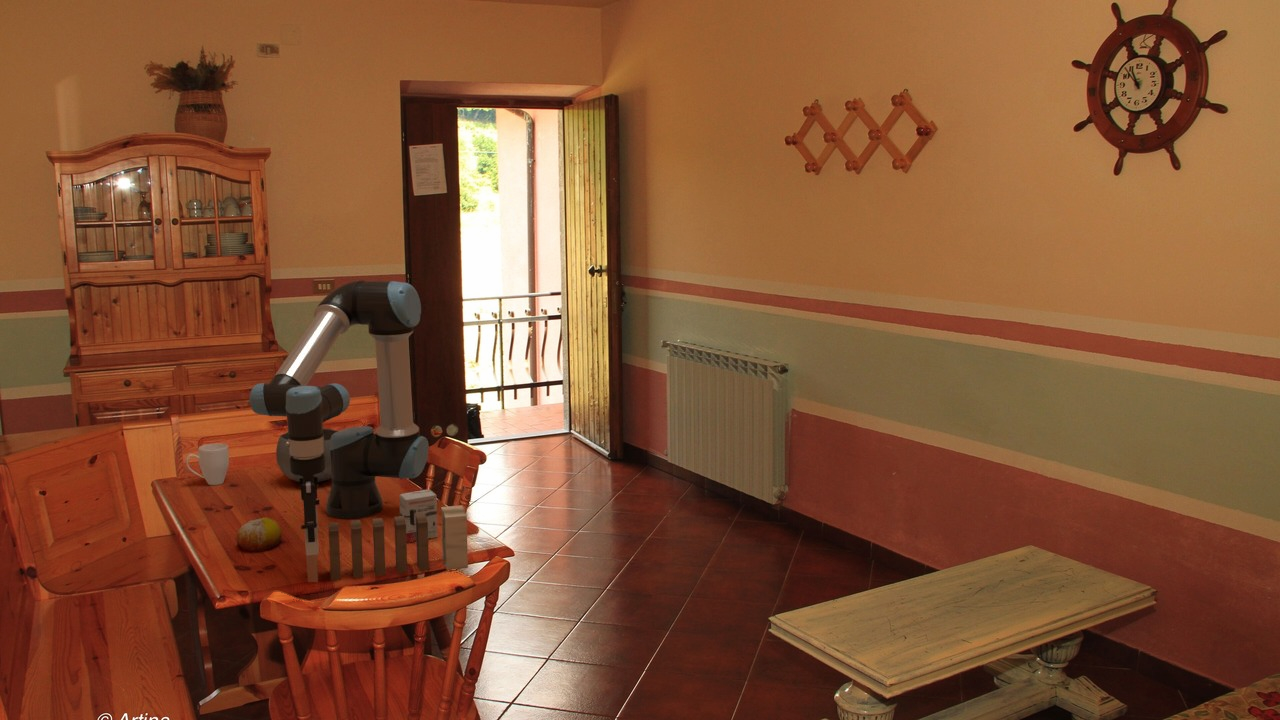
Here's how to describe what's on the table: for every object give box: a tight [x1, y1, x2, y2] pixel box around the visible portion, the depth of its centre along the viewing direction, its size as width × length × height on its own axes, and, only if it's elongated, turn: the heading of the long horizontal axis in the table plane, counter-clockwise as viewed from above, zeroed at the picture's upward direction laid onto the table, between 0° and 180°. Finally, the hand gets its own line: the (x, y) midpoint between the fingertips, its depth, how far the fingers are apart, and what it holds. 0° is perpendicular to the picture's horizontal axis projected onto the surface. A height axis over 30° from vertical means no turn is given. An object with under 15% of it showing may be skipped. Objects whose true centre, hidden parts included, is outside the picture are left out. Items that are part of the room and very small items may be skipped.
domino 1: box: [306, 554, 319, 584], centre depth 228 cm, size 6×2×12 cm, turn 18°
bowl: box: [275, 427, 339, 483], centre depth 302 cm, size 20×20×15 cm
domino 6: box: [415, 514, 430, 572], centre depth 236 cm, size 6×2×12 cm, turn 18°
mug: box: [185, 442, 230, 486], centre depth 298 cm, size 12×8×11 cm
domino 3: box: [350, 519, 364, 579], centre depth 231 cm, size 6×2×12 cm, turn 18°
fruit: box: [235, 516, 283, 553], centre depth 249 cm, size 11×10×8 cm
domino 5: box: [393, 515, 408, 575], centre depth 234 cm, size 6×2×12 cm, turn 18°
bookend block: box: [440, 504, 469, 571], centre depth 238 cm, size 8×5×13 cm, turn 18°
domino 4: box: [372, 517, 387, 577], centre depth 233 cm, size 6×2×12 cm, turn 18°
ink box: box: [399, 488, 438, 543], centre depth 255 cm, size 8×5×12 cm, turn 123°
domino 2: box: [327, 521, 342, 582], centre depth 230 cm, size 6×2×12 cm, turn 18°
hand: (312, 543), depth 228 cm, fingers open, 13 cm apart
